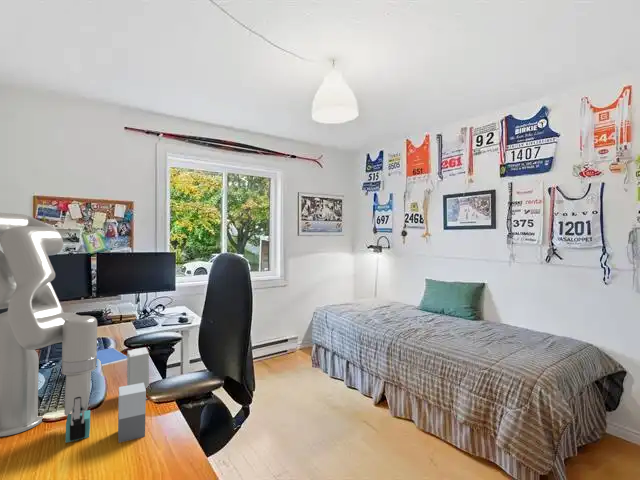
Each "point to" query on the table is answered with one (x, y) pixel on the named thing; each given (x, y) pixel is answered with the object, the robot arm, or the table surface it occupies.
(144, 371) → the skincare box
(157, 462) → the table surface
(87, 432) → the teal block
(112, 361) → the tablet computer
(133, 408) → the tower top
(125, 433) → the tower base
